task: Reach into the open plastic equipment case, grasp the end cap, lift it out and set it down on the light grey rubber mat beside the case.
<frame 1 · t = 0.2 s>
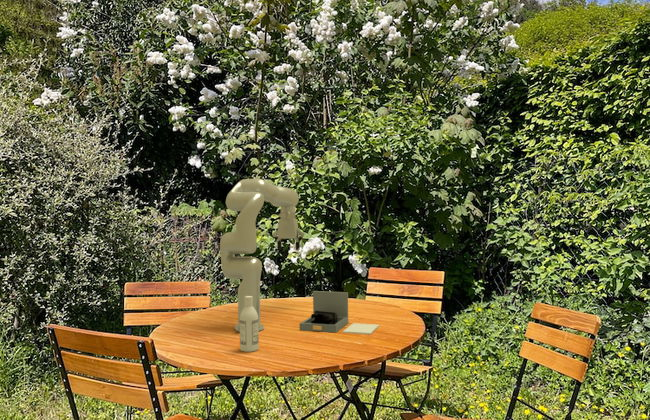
hand: (288, 249, 279), 31 cm above the table, tool pointing down, fingers open, 9 cm apart
end cap: (324, 327, 240), resting in equipment case
equipment case: (324, 326, 240), on the table
bath foam: (249, 350, 204), on the table
grey mat: (361, 329, 234), on the table
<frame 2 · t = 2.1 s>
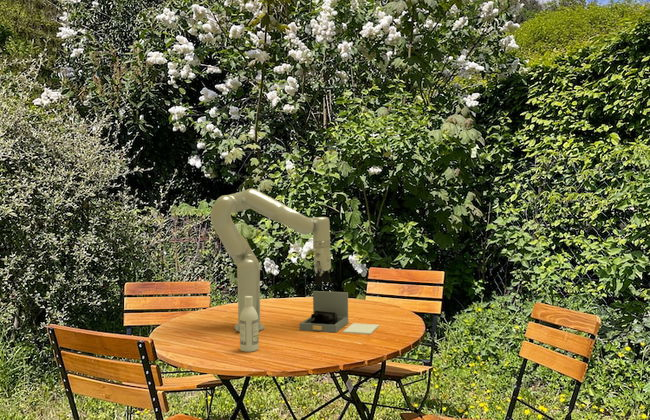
hand: (322, 283, 241), 19 cm above the table, tool pointing down, fingers open, 9 cm apart
nothing on the table moved.
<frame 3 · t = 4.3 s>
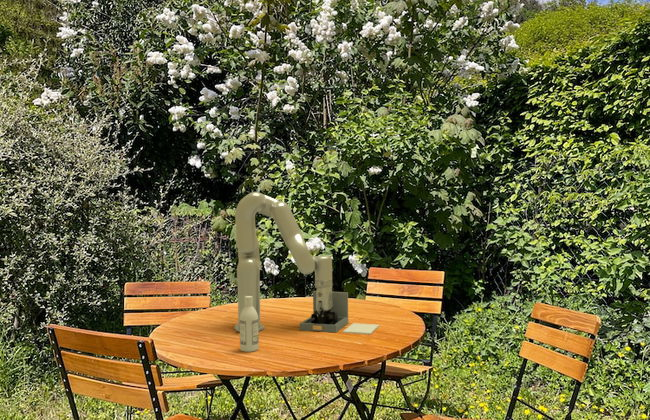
hand: (324, 323, 240), 2 cm above the table, tool pointing down, fingers closed on end cap, 7 cm apart
end cap: (324, 327, 240), resting in equipment case, touching gripper
everything else where it was.
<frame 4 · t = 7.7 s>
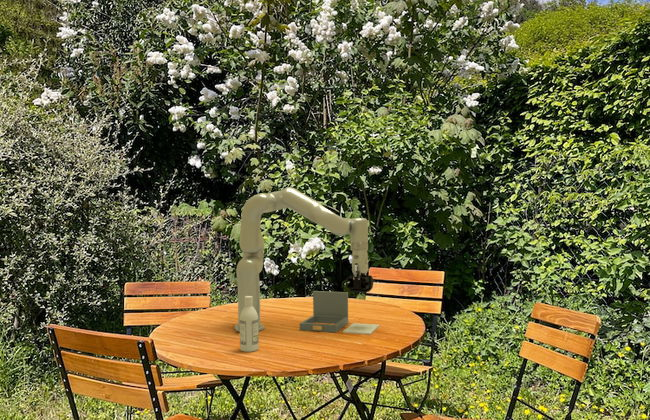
hand: (359, 287, 234), 18 cm above the table, tool pointing down, fingers closed on end cap, 7 cm apart
end cap: (359, 291, 234), point 16 cm above the table, touching gripper
everything else where it was.
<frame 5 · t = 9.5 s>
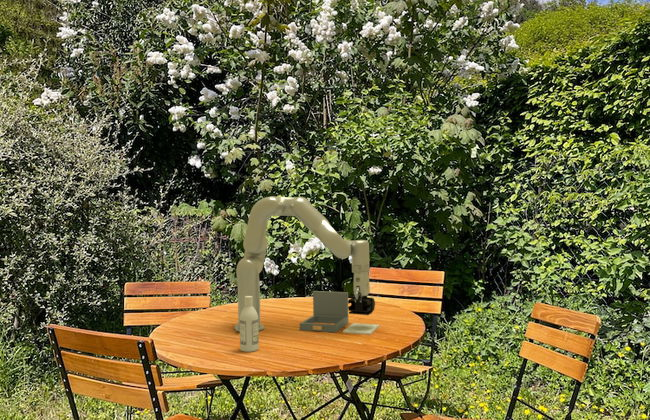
hand: (361, 309, 234), 9 cm above the table, tool pointing down, fingers closed on end cap, 7 cm apart
end cap: (361, 313, 234), point 7 cm above the table, touching gripper
everything else where it was.
when the fingers open (3 cm above the table, at t = 11.1 s): end cap drops 1 cm, resting on grey mat.
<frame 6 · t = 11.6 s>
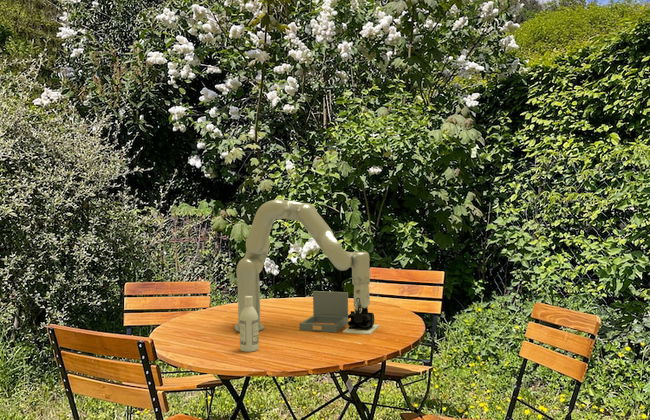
hand: (361, 320, 234), 4 cm above the table, tool pointing down, fingers open, 9 cm apart
end cap: (361, 328, 234), resting on grey mat
everything else where it was.
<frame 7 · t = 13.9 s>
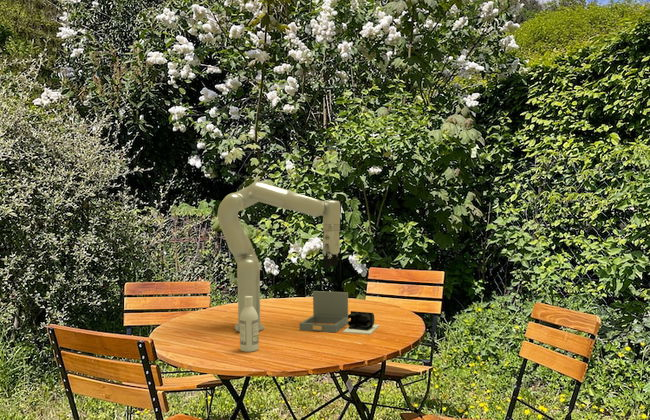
hand: (330, 266, 241), 26 cm above the table, tool pointing down, fingers open, 9 cm apart
nothing on the table moved.
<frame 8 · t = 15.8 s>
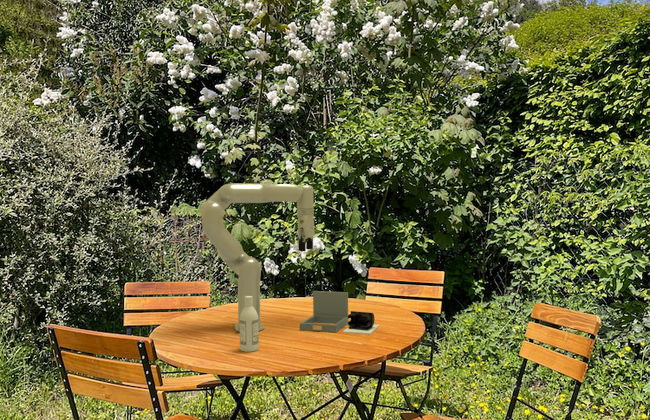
hand: (305, 250, 247), 33 cm above the table, tool pointing down, fingers open, 9 cm apart
nothing on the table moved.
at the end: end cap inside the target area on the grey mat (0.2 cm from its centre), point 0.4 cm above the grey mat's base; the gripper is holding nothing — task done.
